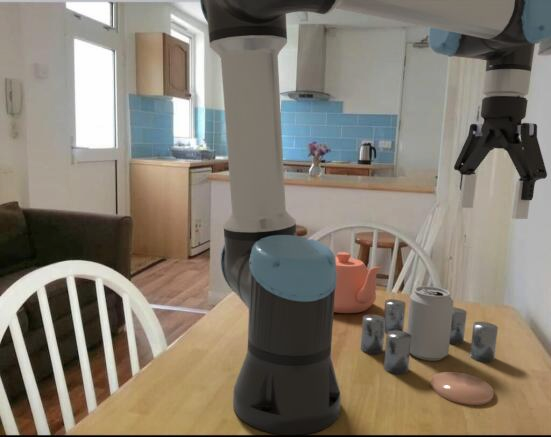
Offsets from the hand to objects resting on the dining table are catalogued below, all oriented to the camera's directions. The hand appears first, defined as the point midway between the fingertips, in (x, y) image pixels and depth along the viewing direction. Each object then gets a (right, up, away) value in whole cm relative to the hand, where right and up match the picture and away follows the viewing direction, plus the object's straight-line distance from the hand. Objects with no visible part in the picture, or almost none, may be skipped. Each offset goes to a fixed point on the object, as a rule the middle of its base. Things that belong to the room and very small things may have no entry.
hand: (490, 212), depth 94 cm
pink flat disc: (-12, -28, -16) cm, 34 cm away
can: (-13, -26, -3) cm, 29 cm away
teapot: (-25, -22, +21) cm, 39 cm away
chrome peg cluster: (-14, -25, 0) cm, 29 cm away
